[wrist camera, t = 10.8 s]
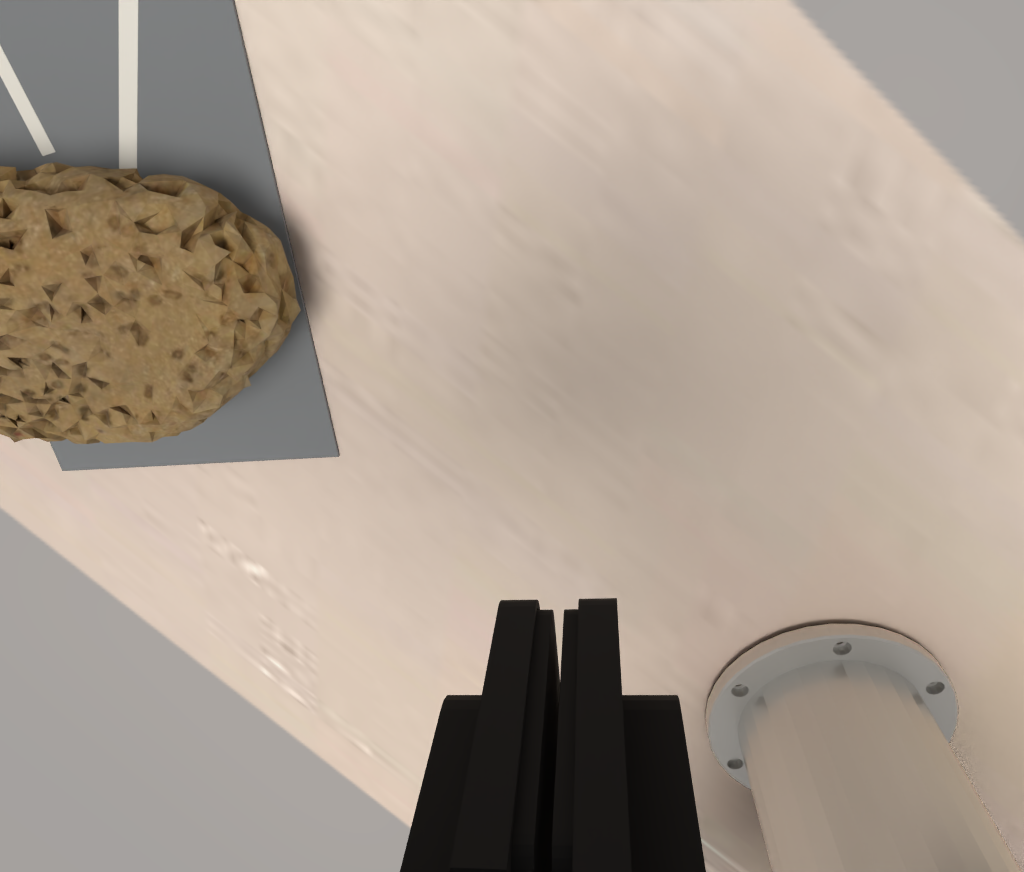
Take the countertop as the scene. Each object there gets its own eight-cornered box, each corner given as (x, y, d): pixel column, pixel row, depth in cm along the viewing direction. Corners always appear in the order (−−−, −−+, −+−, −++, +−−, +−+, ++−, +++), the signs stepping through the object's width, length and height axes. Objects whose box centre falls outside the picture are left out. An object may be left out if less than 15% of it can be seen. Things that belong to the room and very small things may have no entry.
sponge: (-112, 336, 33) (254, 521, 31) (-336, 352, 26) (127, 596, 24) (-67, 49, 30) (349, 238, 28) (-312, -29, 22) (235, 222, 20)
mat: (339, 455, 33) (338, 456, 33) (64, 469, 35) (62, 471, 35) (186, -205, 23) (183, -207, 22) (-201, -143, 24) (-206, -145, 24)
